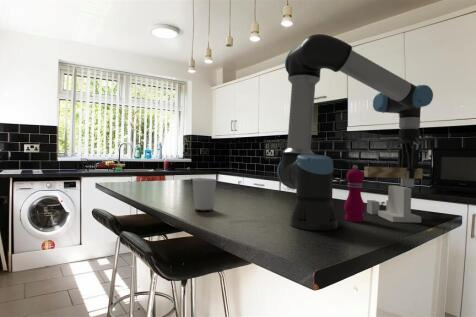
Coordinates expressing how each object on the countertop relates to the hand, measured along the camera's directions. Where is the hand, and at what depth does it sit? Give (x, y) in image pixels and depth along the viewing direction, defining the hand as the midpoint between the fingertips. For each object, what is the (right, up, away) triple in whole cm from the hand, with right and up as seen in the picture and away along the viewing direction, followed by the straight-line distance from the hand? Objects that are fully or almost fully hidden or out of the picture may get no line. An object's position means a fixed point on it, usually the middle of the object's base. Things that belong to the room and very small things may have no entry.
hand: (407, 186), depth 130 cm
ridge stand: (-9, -11, -11) cm, 18 cm away
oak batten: (-6, +4, 0) cm, 7 cm away
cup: (-83, -10, +1) cm, 83 cm away
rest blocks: (-10, -11, 0) cm, 15 cm away
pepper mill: (-27, -11, -15) cm, 33 cm away
